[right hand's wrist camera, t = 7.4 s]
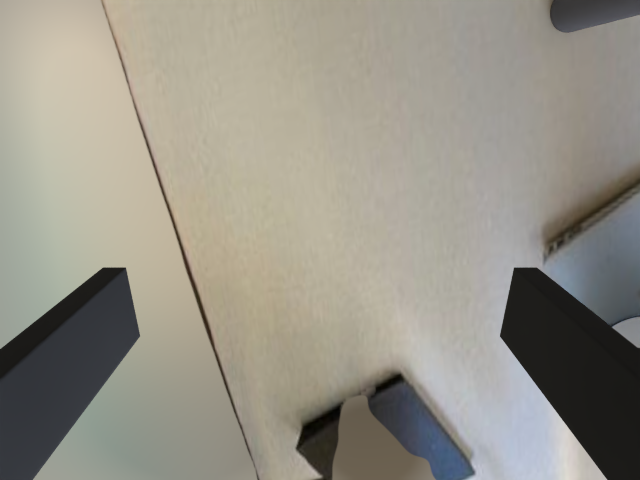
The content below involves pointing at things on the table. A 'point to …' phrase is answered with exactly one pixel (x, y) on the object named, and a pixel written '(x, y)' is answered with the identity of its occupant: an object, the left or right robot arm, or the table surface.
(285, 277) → the table surface
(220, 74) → the table surface
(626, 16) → the jar
